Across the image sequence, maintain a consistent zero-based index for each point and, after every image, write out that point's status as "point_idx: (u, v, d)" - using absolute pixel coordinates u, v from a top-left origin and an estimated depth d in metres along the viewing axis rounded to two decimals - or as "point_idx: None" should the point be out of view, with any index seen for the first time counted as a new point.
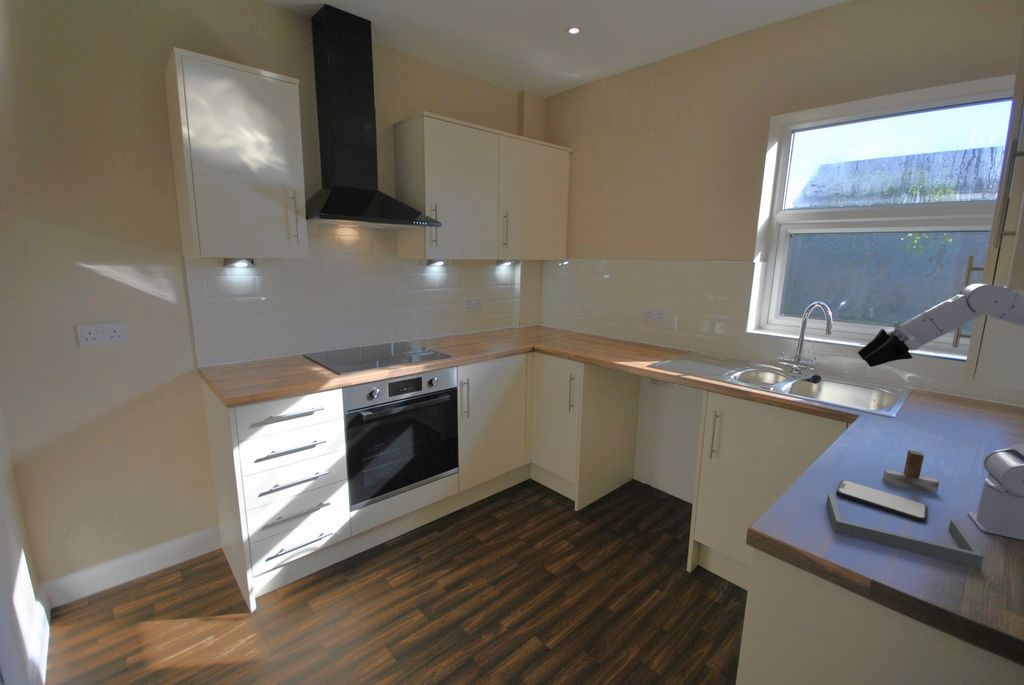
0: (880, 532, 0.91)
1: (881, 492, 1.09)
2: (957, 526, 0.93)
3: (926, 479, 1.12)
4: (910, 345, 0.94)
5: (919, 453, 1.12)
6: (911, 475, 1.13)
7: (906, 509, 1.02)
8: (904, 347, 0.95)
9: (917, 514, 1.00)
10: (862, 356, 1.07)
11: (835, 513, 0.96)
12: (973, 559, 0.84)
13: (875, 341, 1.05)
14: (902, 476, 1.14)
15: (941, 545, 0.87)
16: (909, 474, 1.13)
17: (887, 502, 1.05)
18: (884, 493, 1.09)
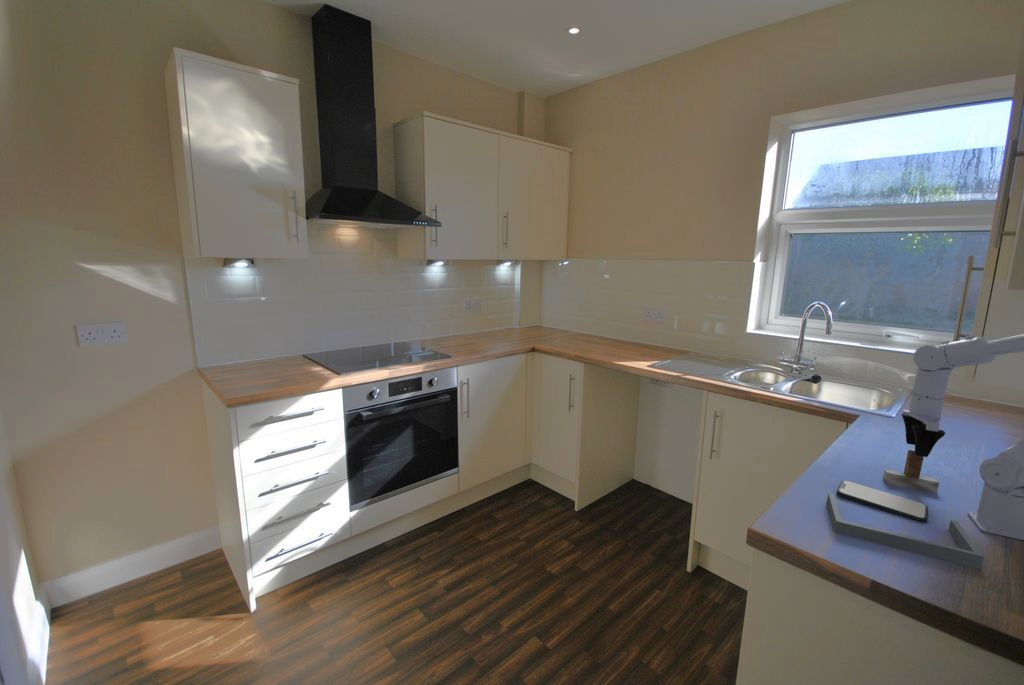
0: (880, 532, 0.91)
1: (881, 492, 1.09)
2: (957, 526, 0.93)
3: (926, 479, 1.12)
4: (932, 428, 1.05)
5: None
6: (911, 475, 1.13)
7: (906, 509, 1.02)
8: (930, 431, 1.06)
9: (918, 514, 1.00)
10: (913, 443, 1.15)
11: (835, 513, 0.96)
12: (973, 559, 0.84)
13: (908, 427, 1.16)
14: (902, 476, 1.14)
15: (941, 545, 0.87)
16: (909, 474, 1.13)
17: (887, 502, 1.05)
18: (885, 493, 1.09)
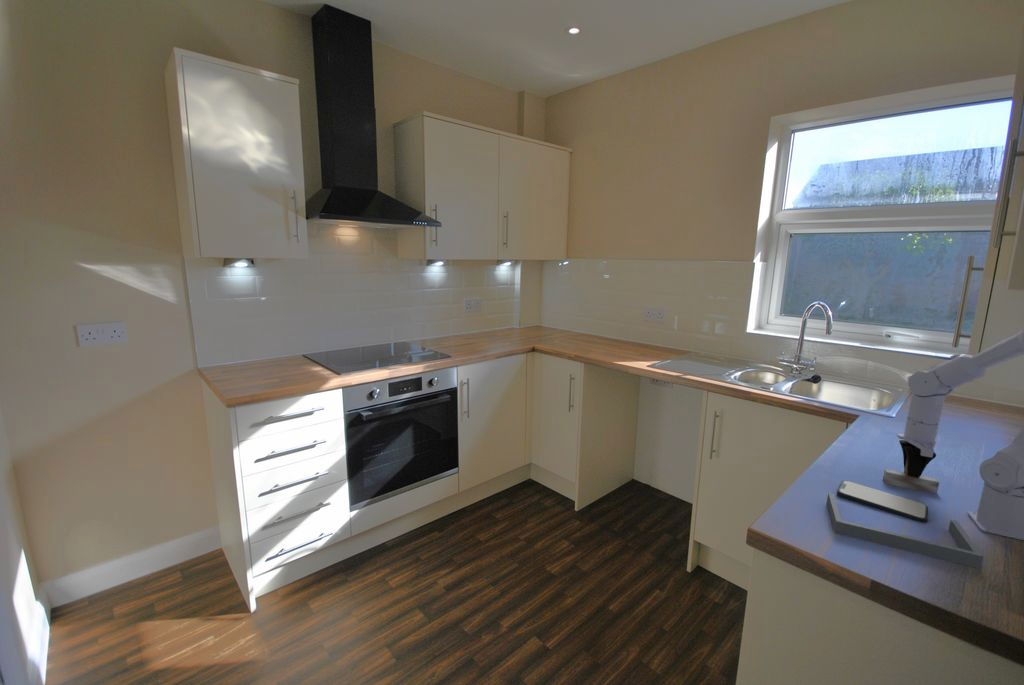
0: (880, 532, 0.91)
1: (882, 492, 1.09)
2: (957, 526, 0.93)
3: (926, 479, 1.12)
4: (926, 454, 1.06)
5: None
6: None
7: (907, 509, 1.02)
8: None
9: (918, 514, 1.00)
10: None
11: (835, 513, 0.96)
12: (973, 559, 0.84)
13: (906, 454, 1.15)
14: (902, 476, 1.14)
15: (941, 545, 0.87)
16: None
17: (887, 502, 1.05)
18: (885, 493, 1.09)
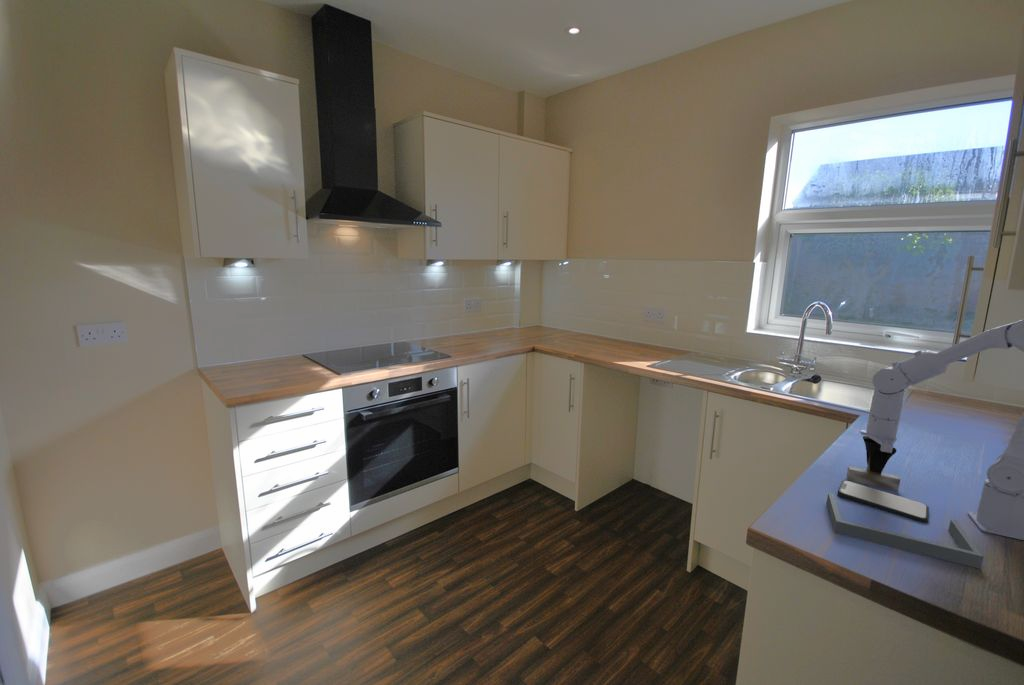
0: (880, 532, 0.91)
1: (882, 492, 1.09)
2: (957, 526, 0.93)
3: (888, 476, 1.13)
4: (886, 450, 1.07)
5: None
6: (873, 472, 1.14)
7: (907, 509, 1.02)
8: None
9: (919, 514, 1.00)
10: None
11: (835, 513, 0.96)
12: (973, 559, 0.84)
13: (868, 450, 1.16)
14: (864, 473, 1.15)
15: (941, 545, 0.87)
16: None
17: (888, 502, 1.04)
18: (885, 493, 1.09)
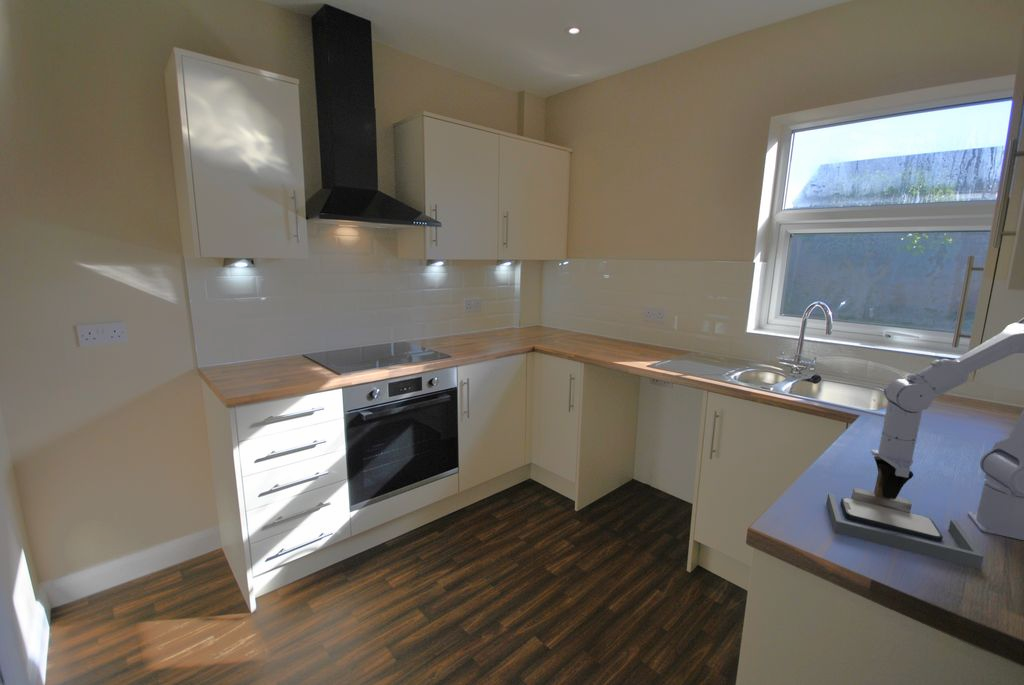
0: (880, 532, 0.91)
1: (884, 508, 1.02)
2: (957, 526, 0.93)
3: (898, 500, 1.02)
4: (902, 474, 0.95)
5: None
6: (881, 496, 1.02)
7: (918, 527, 0.95)
8: None
9: (932, 532, 0.94)
10: None
11: (835, 513, 0.96)
12: (973, 559, 0.84)
13: None
14: (872, 496, 1.03)
15: (941, 545, 0.87)
16: (879, 495, 1.02)
17: (897, 521, 0.97)
18: (887, 508, 1.02)
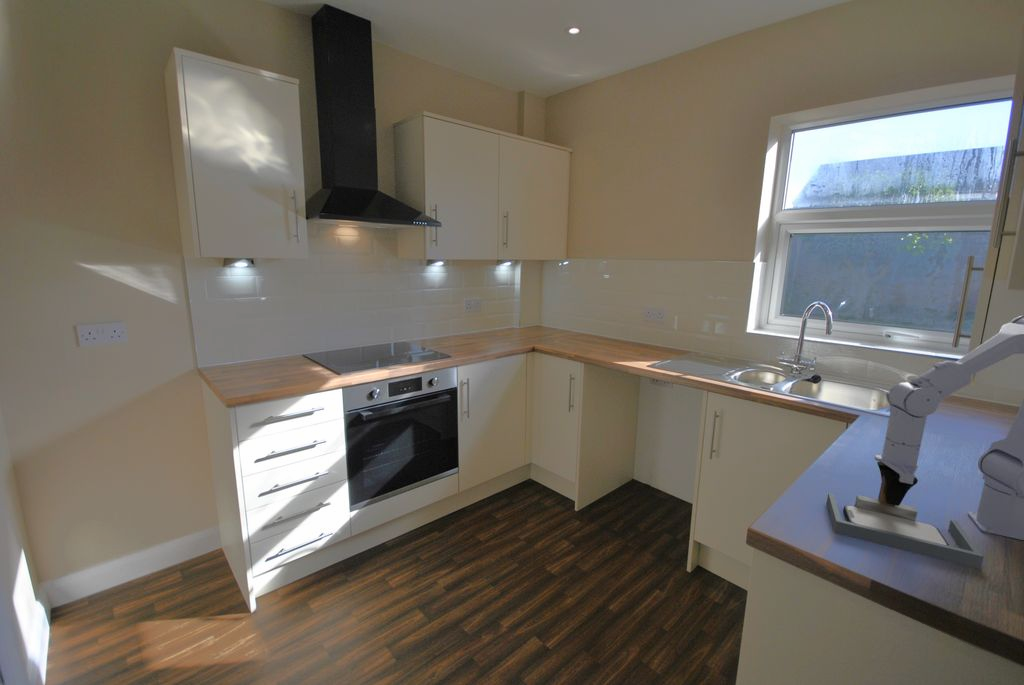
0: (880, 532, 0.91)
1: (888, 515, 0.99)
2: (957, 526, 0.93)
3: (903, 507, 0.99)
4: (906, 481, 0.92)
5: None
6: (886, 503, 0.99)
7: (924, 536, 0.92)
8: None
9: (938, 541, 0.91)
10: None
11: (835, 513, 0.96)
12: (973, 559, 0.84)
13: None
14: (876, 503, 1.00)
15: (941, 545, 0.87)
16: (884, 502, 0.99)
17: (903, 529, 0.94)
18: (891, 516, 0.99)
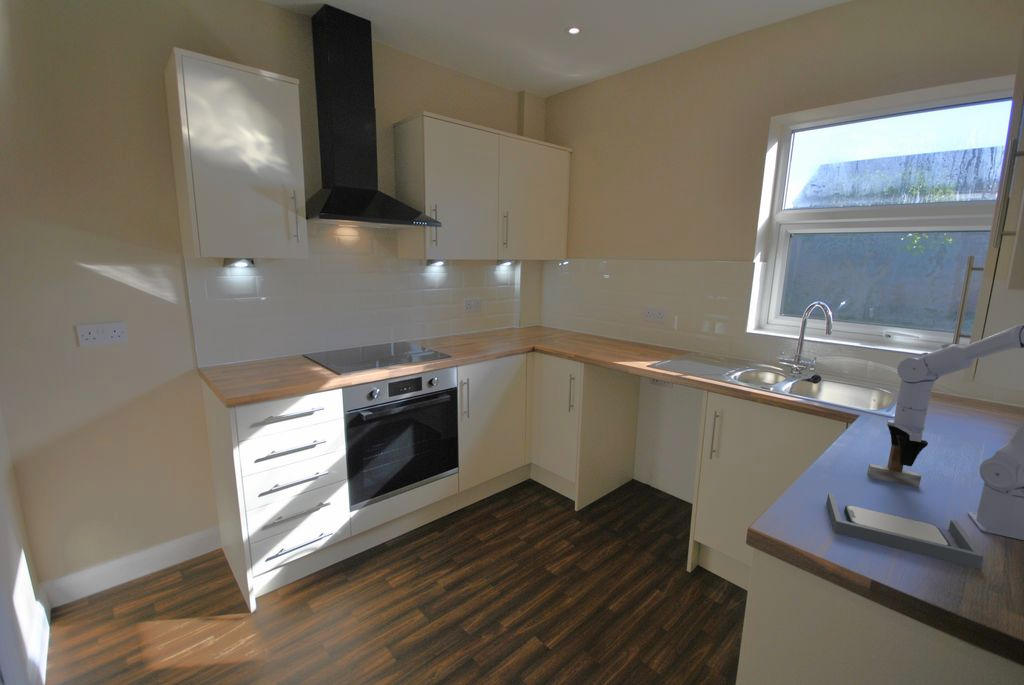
0: (880, 532, 0.91)
1: (889, 515, 0.99)
2: (957, 526, 0.93)
3: (909, 473, 1.15)
4: (915, 439, 1.08)
5: None
6: (894, 469, 1.16)
7: (926, 535, 0.92)
8: (913, 441, 1.09)
9: (940, 541, 0.91)
10: None
11: (835, 513, 0.96)
12: (973, 559, 0.84)
13: (893, 437, 1.19)
14: (885, 470, 1.17)
15: (941, 545, 0.87)
16: (892, 468, 1.16)
17: (904, 529, 0.94)
18: (892, 516, 0.99)
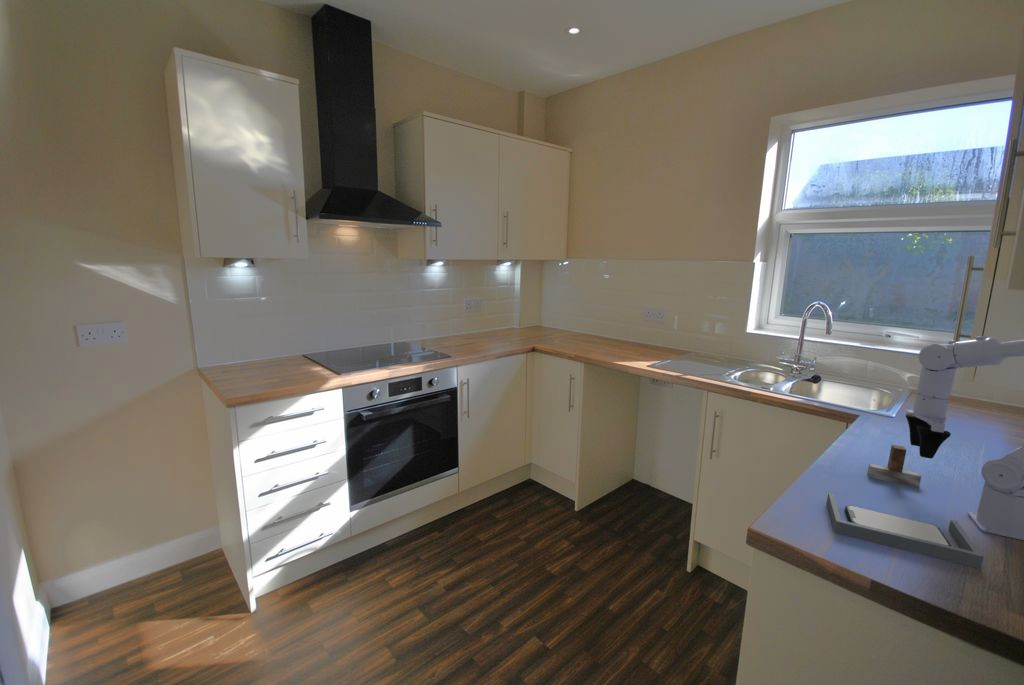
0: (880, 532, 0.91)
1: (889, 515, 0.99)
2: (957, 526, 0.93)
3: (909, 473, 1.15)
4: (937, 429, 1.02)
5: (902, 447, 1.15)
6: (894, 469, 1.16)
7: (926, 536, 0.92)
8: (935, 432, 1.03)
9: (940, 541, 0.91)
10: (917, 444, 1.13)
11: (835, 513, 0.96)
12: (973, 559, 0.84)
13: (912, 428, 1.13)
14: (886, 470, 1.17)
15: (941, 545, 0.87)
16: (892, 468, 1.16)
17: (904, 529, 0.94)
18: (893, 516, 0.99)
